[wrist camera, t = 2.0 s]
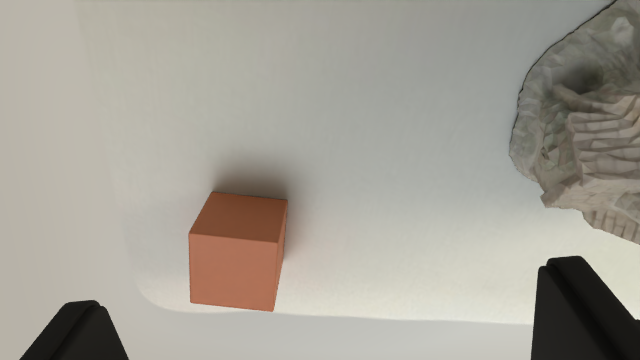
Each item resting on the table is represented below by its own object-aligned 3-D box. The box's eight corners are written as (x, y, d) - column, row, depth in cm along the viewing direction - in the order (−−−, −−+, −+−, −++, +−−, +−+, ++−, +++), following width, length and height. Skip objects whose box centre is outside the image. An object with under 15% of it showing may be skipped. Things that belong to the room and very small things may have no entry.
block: (211, 254, 31) (189, 303, 27) (211, 191, 29) (188, 232, 25) (282, 262, 31) (273, 312, 27) (288, 199, 29) (278, 242, 25)
